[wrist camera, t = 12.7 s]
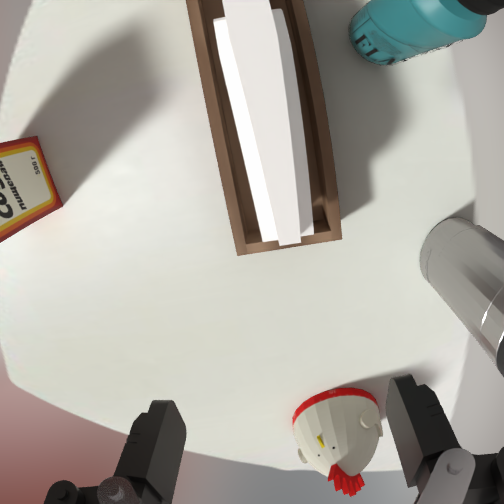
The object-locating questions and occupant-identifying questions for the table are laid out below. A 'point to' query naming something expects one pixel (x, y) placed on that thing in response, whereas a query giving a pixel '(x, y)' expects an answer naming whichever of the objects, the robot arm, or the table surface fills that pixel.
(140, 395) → the table surface
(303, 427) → the kitchen timer
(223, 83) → the trough
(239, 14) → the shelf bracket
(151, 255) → the table surface
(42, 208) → the baking soda box
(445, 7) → the beverage bottle
